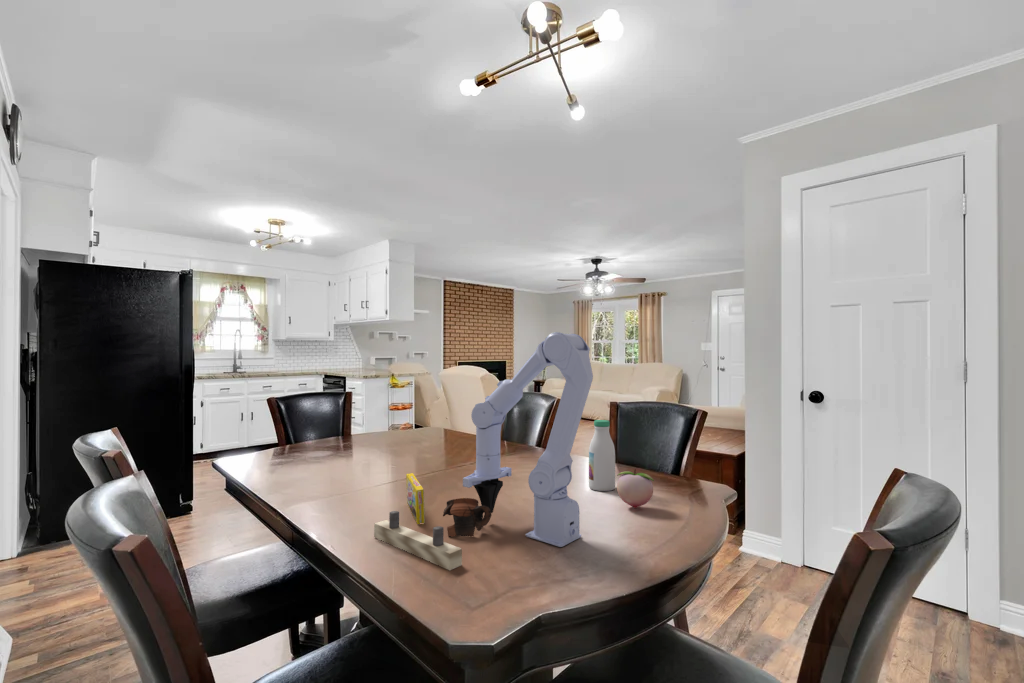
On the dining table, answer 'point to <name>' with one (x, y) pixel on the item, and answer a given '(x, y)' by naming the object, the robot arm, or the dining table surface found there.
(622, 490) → the decorative fruit
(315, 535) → the dining table surface
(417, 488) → the candy box
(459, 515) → the pottery mug
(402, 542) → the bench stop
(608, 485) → the milk bottle
